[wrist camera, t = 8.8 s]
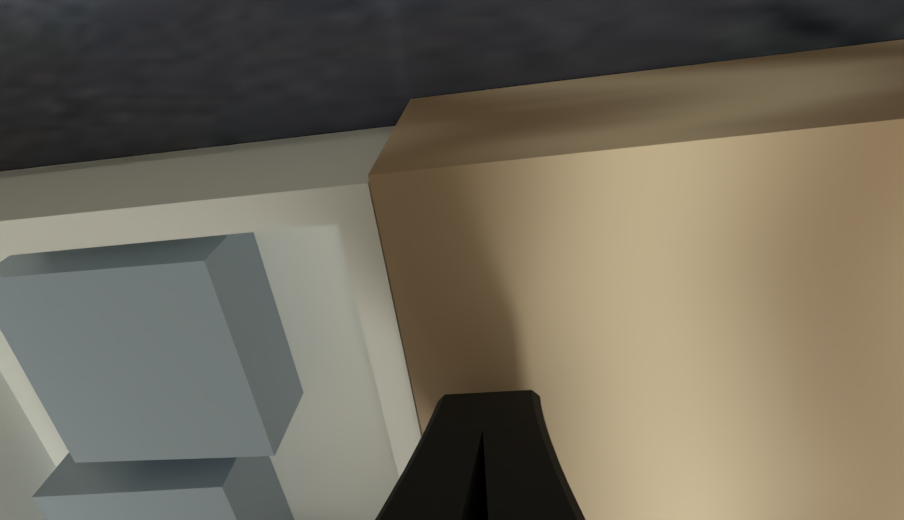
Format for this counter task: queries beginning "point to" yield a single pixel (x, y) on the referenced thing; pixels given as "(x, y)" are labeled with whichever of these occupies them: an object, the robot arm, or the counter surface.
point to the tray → (292, 283)
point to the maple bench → (670, 277)
